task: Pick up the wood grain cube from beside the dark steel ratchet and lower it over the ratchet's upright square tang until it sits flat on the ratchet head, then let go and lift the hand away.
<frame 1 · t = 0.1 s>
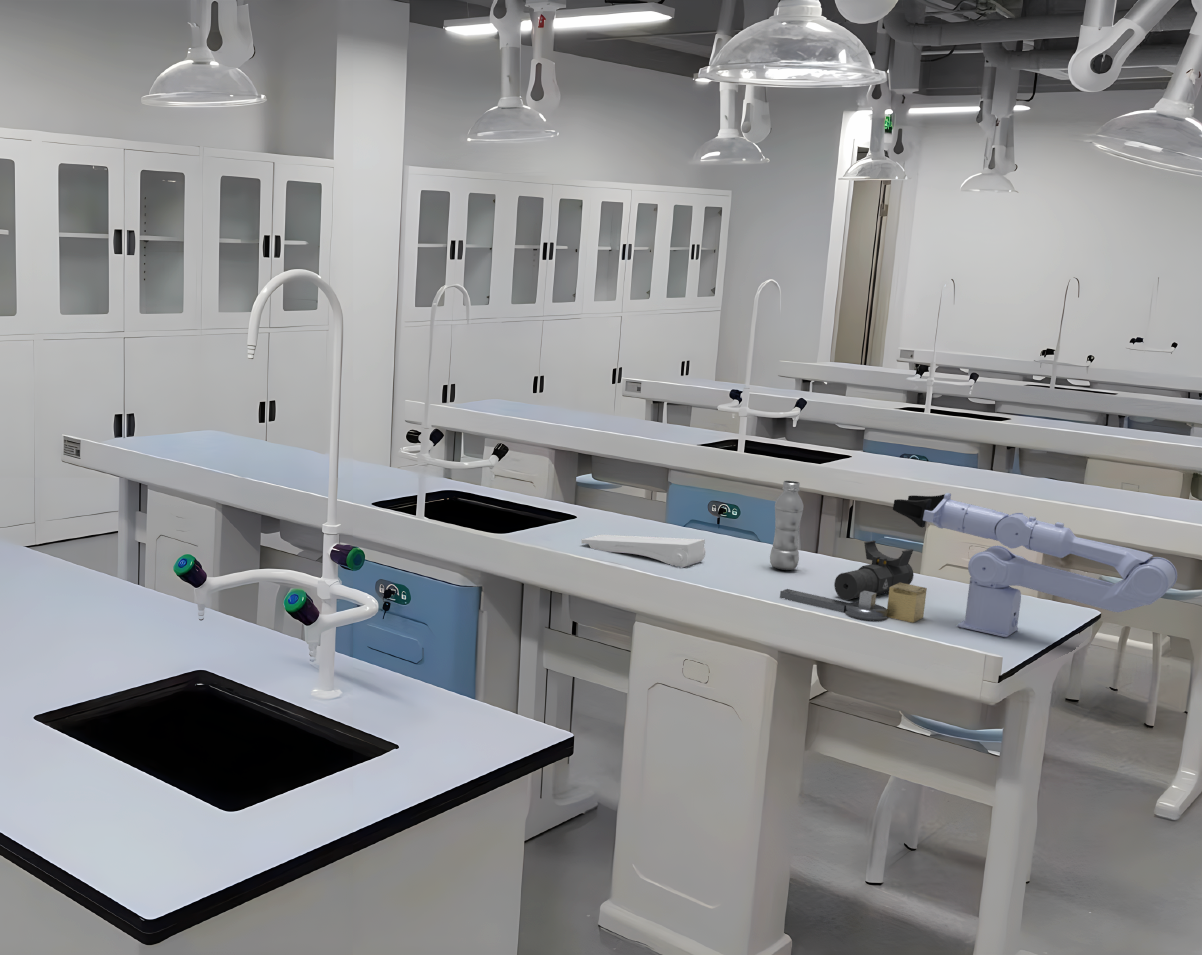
hand: (901, 502, 233), 22 cm above the table, tool horizontal, fingers open, 7 cm apart
plastic bottle: (783, 570, 263), on the table
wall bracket: (641, 556, 268), on the table
ratchet: (865, 615, 229), on the table
wood grain cube: (904, 617, 230), on the table
laser sight: (874, 594, 248), on the table
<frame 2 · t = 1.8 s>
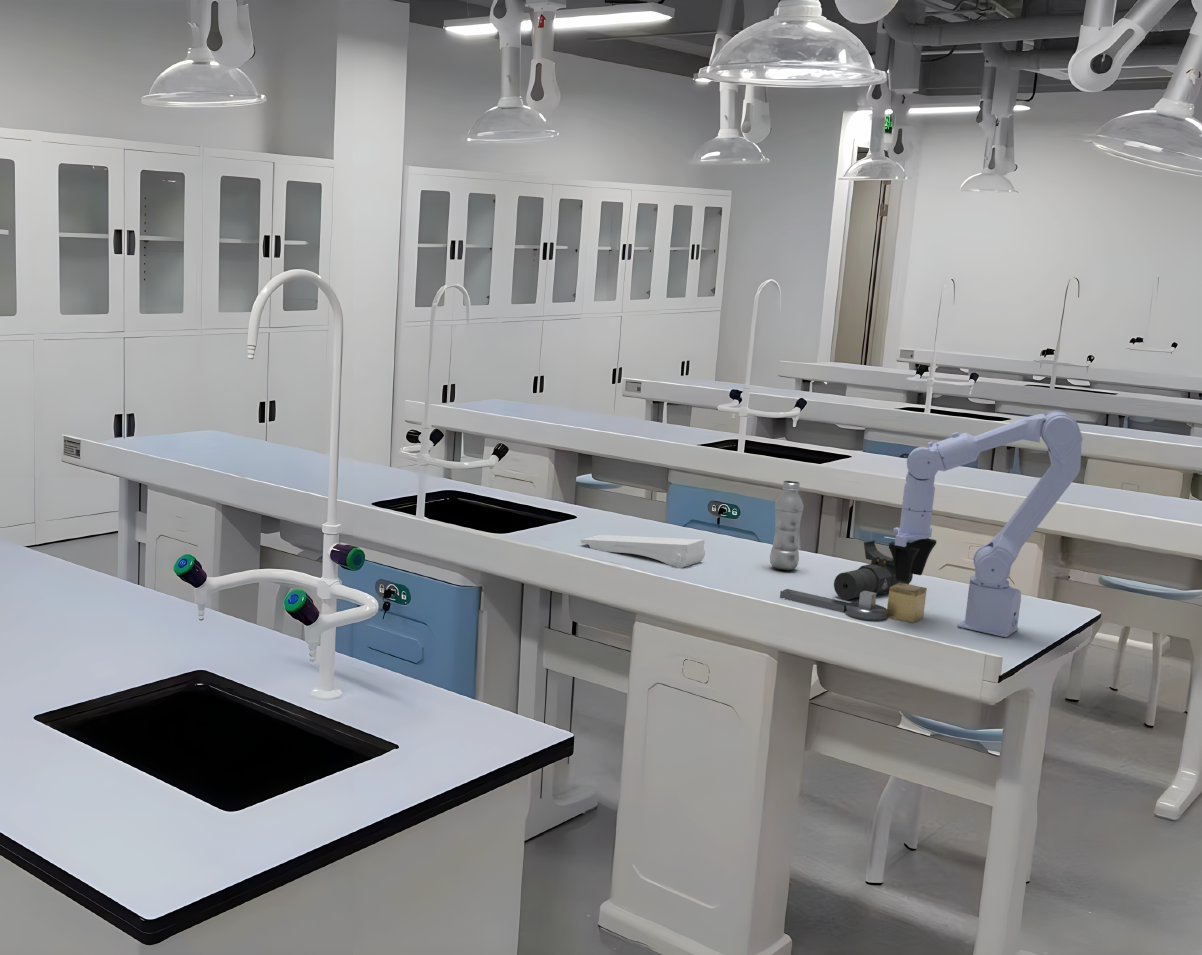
hand: (908, 577, 228), 8 cm above the table, tool pointing down, fingers open, 7 cm apart
nothing on the table moved.
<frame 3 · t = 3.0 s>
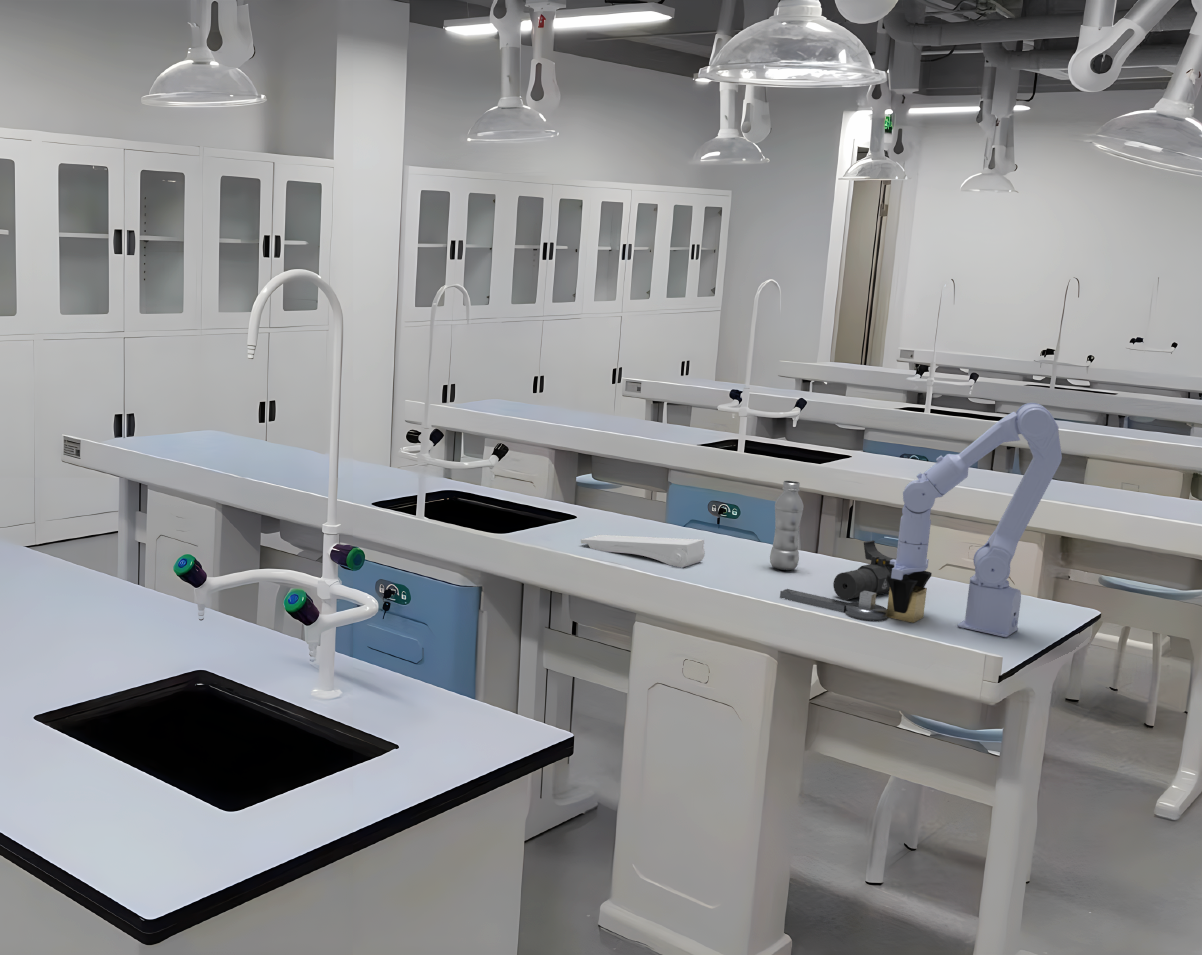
hand: (905, 609, 229), 2 cm above the table, tool pointing down, fingers closed on wood grain cube, 5 cm apart
wood grain cube: (904, 617, 230), on the table, touching gripper
everything else where it was.
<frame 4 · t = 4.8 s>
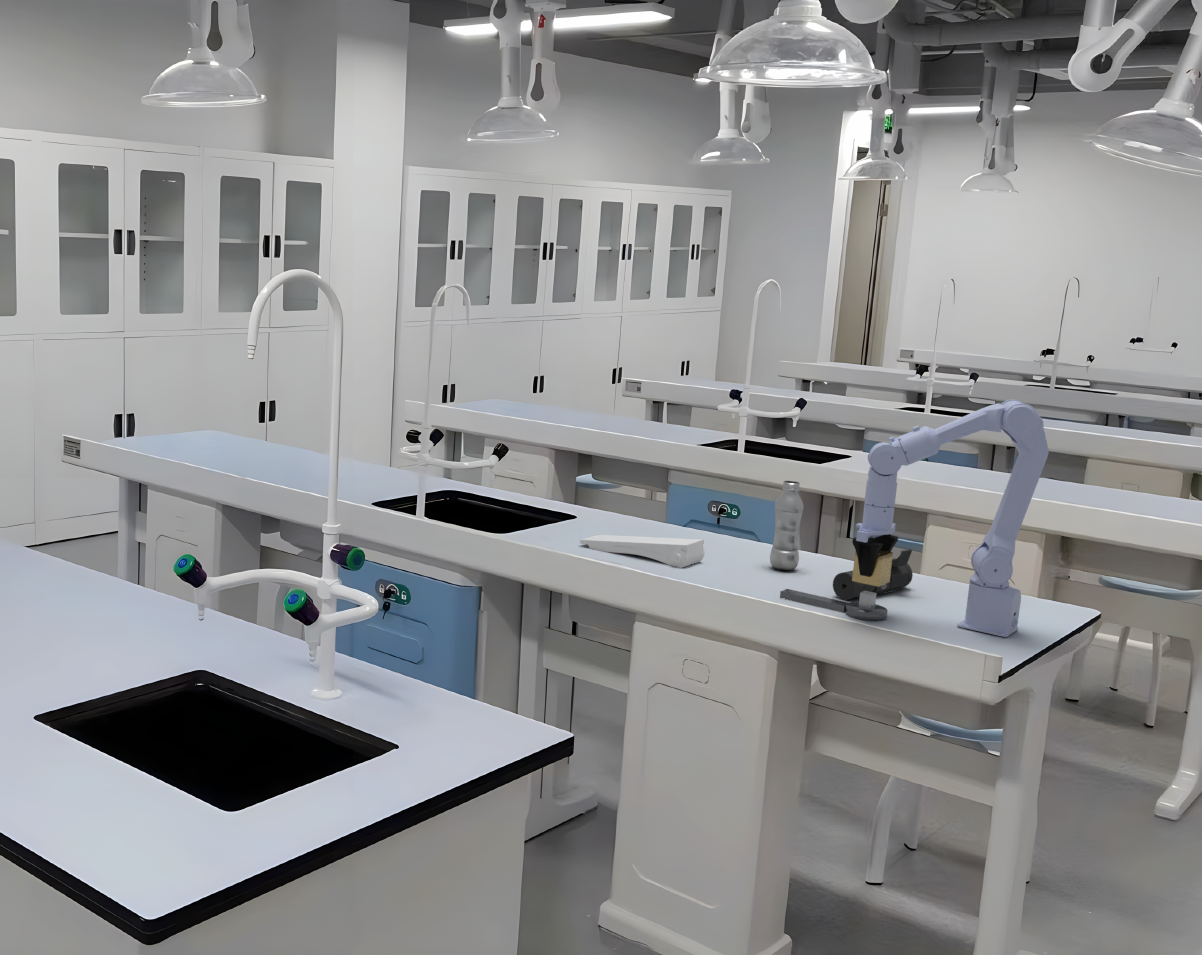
hand: (871, 573, 228), 8 cm above the table, tool pointing down, fingers closed on wood grain cube, 5 cm apart
wood grain cube: (870, 581, 228), point 7 cm above the table, touching gripper
everything else where it was.
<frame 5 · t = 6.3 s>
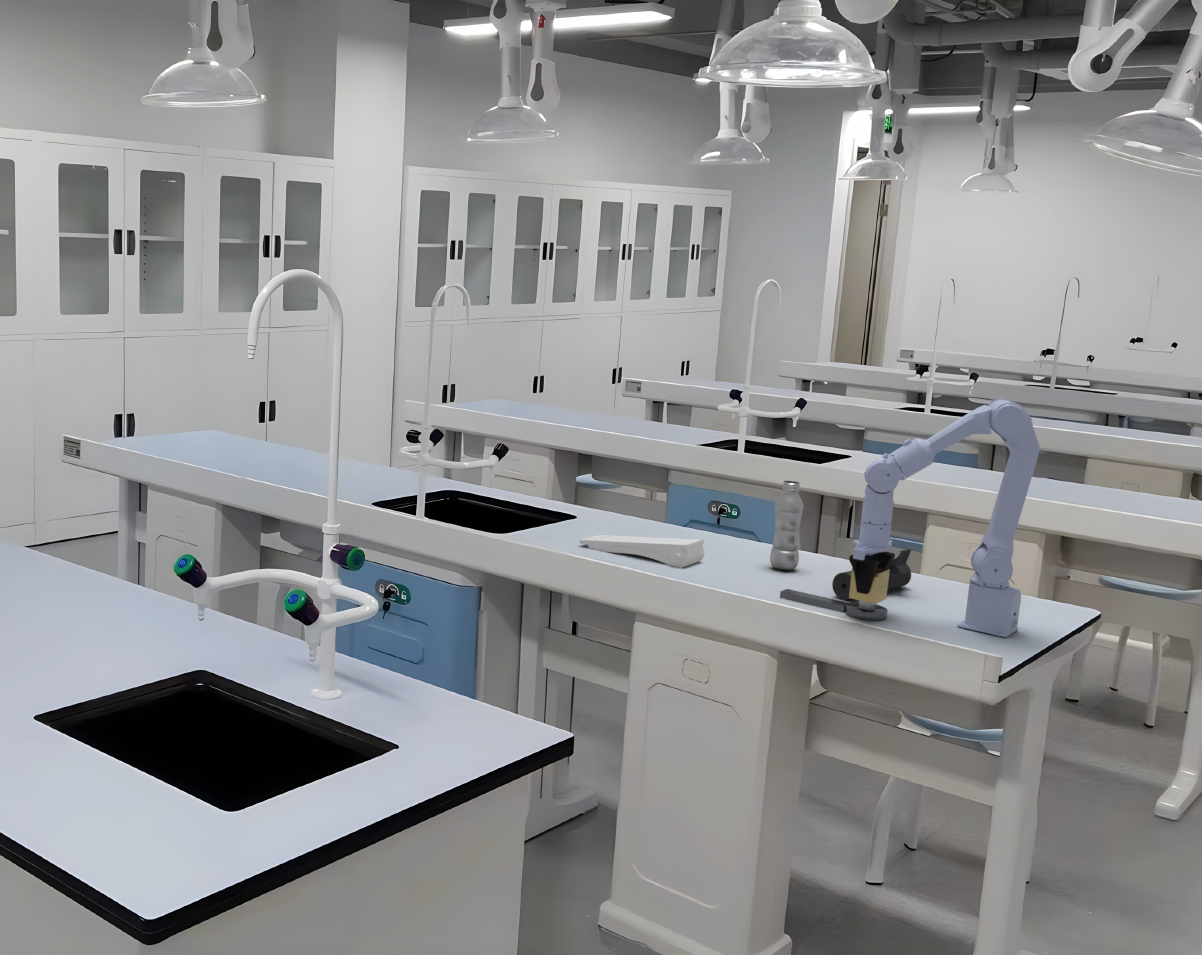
hand: (868, 590, 228), 5 cm above the table, tool pointing down, fingers closed on wood grain cube, 5 cm apart
wood grain cube: (867, 598, 228), point 3 cm above the table, touching gripper
everything else where it was.
when the fingers open (4 cm above the table, at t = 7.1 s): wood grain cube stays where it is, resting on ratchet.
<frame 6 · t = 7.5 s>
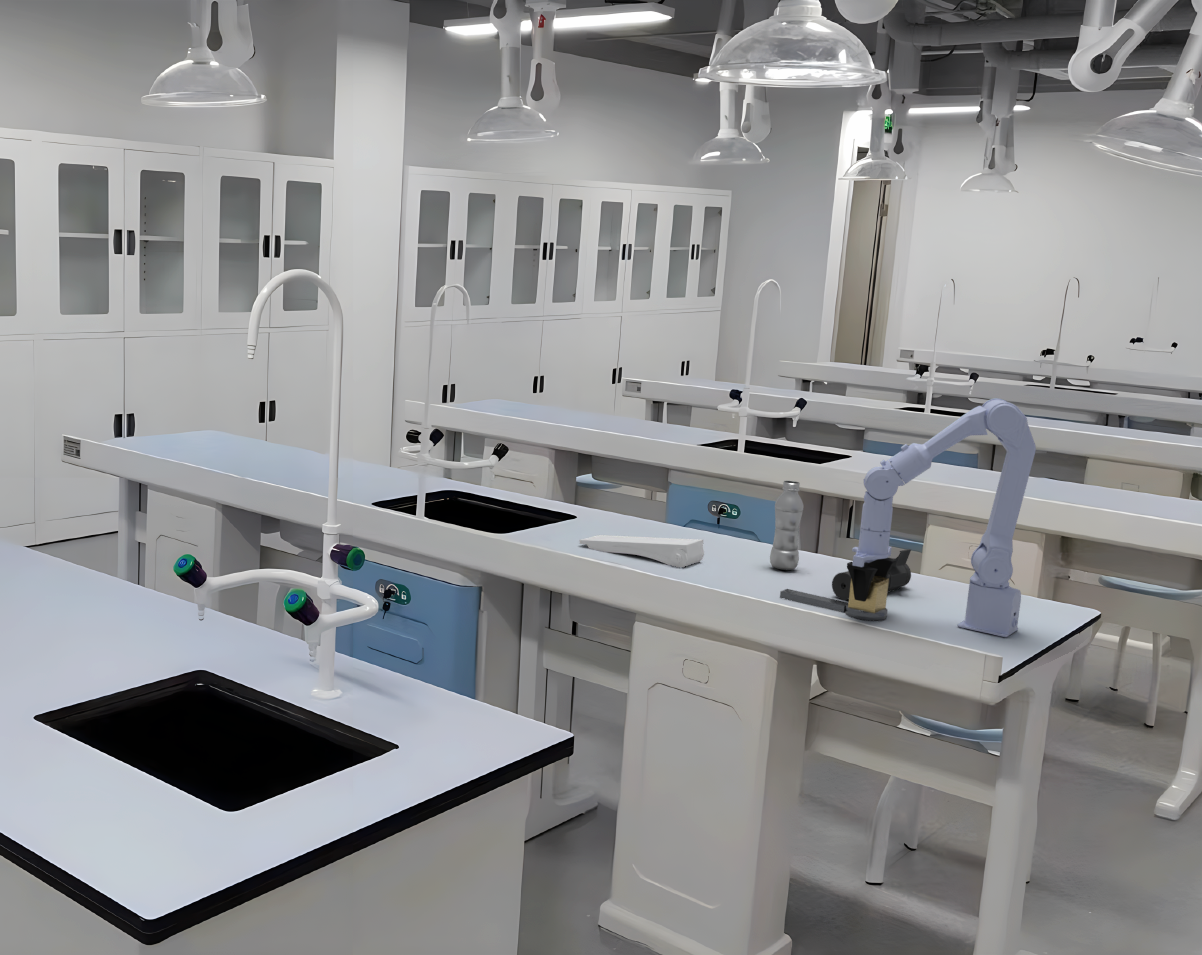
hand: (867, 596, 228), 4 cm above the table, tool pointing down, fingers open, 7 cm apart
ratchet: (865, 615, 229), on the table, touching wood grain cube
wood grain cube: (866, 607, 229), point 2 cm above the table, touching ratchet
everything else where it was.
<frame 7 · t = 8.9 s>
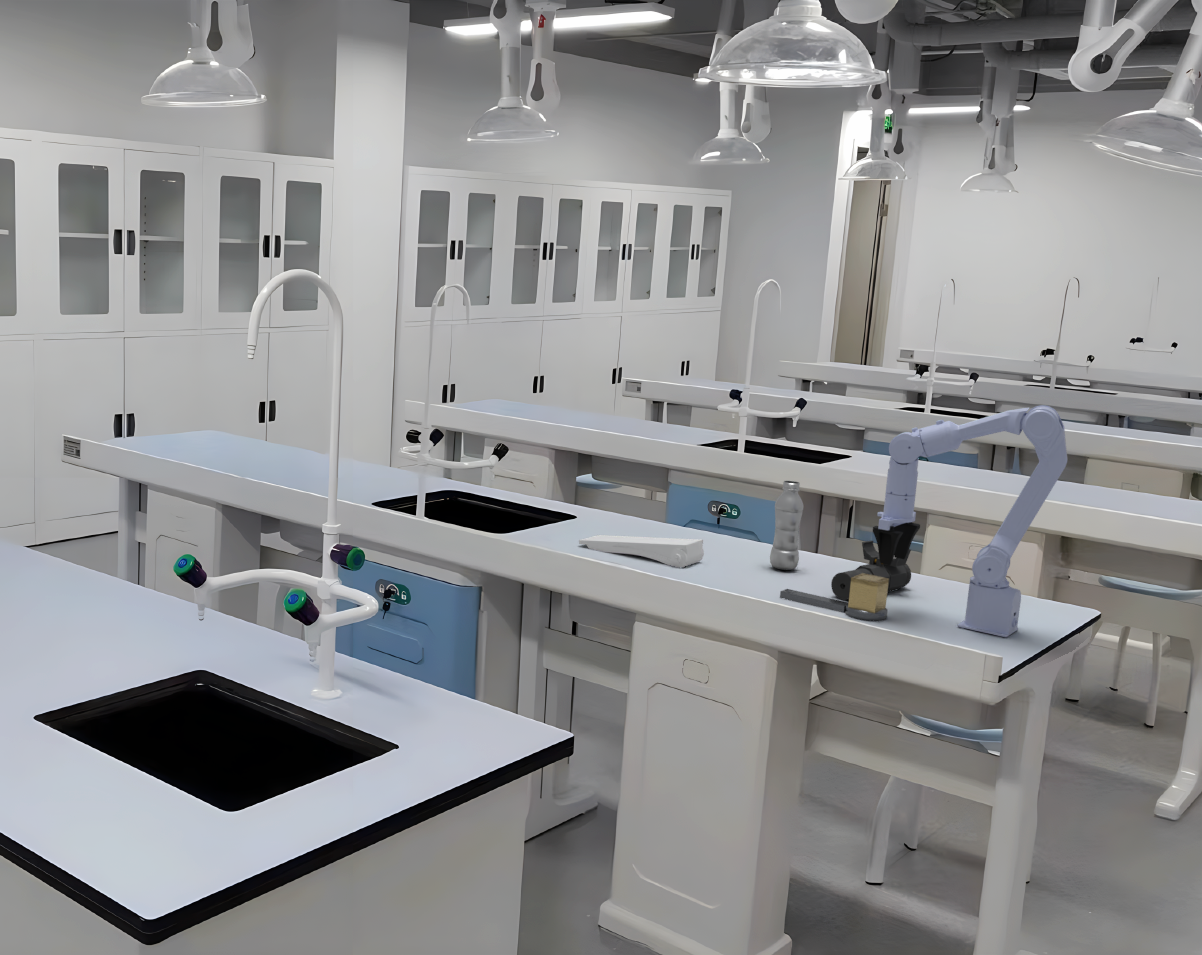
hand: (892, 561, 231), 10 cm above the table, tool pointing down, fingers open, 7 cm apart
nothing on the table moved.
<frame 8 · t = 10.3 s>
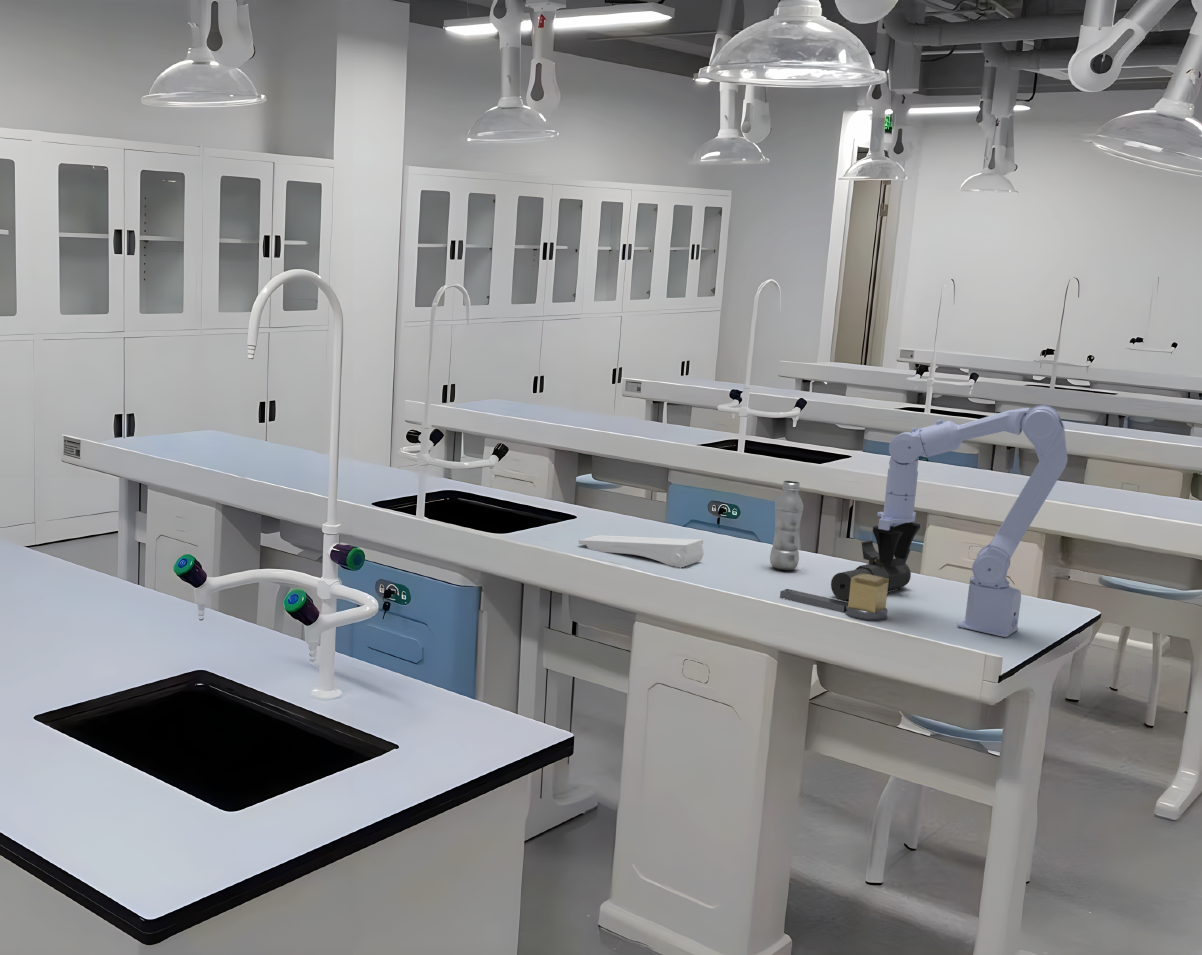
hand: (892, 561, 231), 10 cm above the table, tool pointing down, fingers open, 7 cm apart
nothing on the table moved.
at the end: wood grain cube 0.0 cm from the ratchet (horizontally); wood grain cube point 1.5 cm above the table; the gripper is holding nothing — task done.
